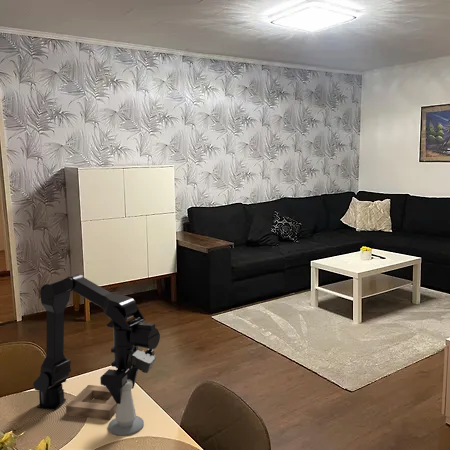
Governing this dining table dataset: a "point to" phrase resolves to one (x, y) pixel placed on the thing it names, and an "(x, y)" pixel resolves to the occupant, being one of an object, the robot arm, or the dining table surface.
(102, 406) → the walnut frame
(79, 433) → the dining table surface
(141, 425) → the slate coaster
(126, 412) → the salt shaker
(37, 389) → the robot arm
